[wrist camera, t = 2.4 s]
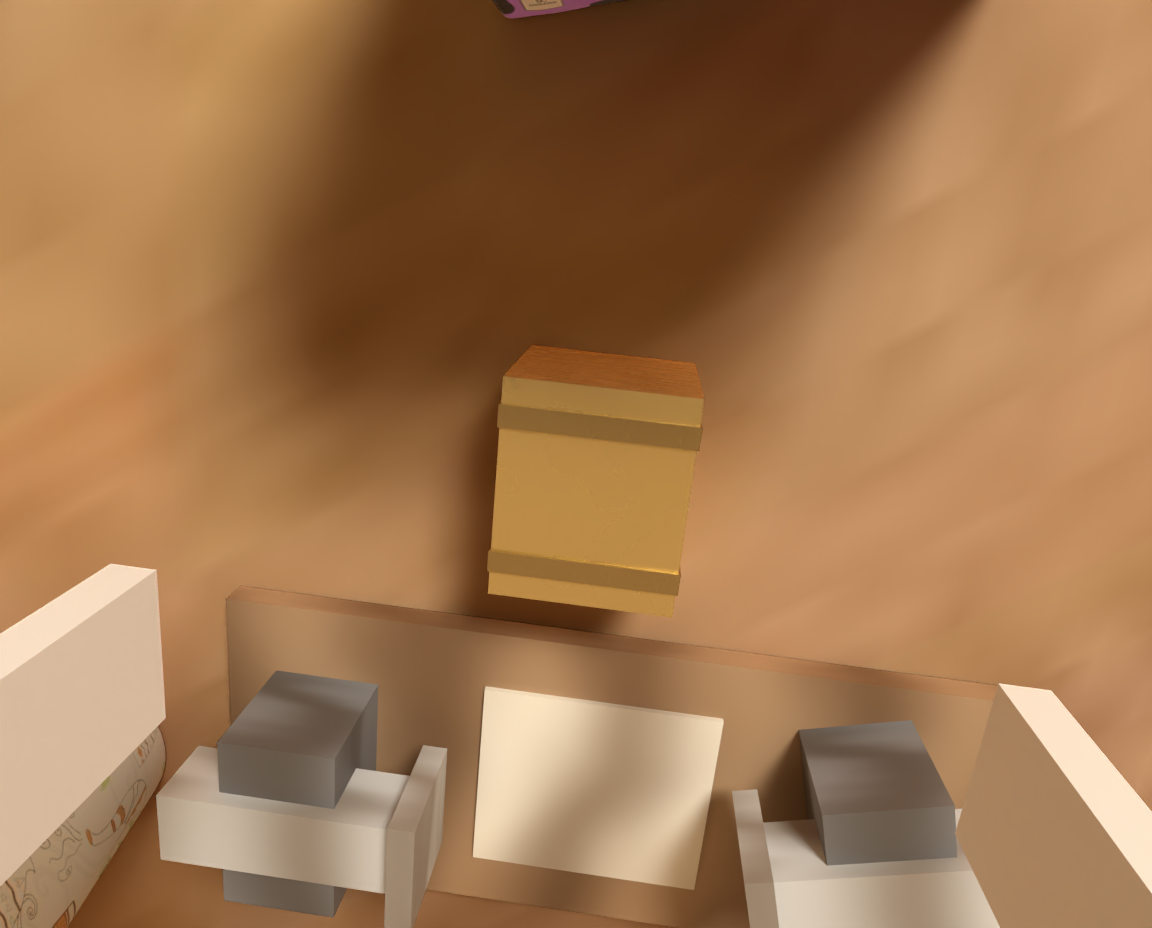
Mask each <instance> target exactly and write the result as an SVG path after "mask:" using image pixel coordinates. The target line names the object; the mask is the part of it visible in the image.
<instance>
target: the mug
mask: <svg viewBox="0 0 1152 928" xmlns="http://www.w3.org/2000/svg"><path fill="white" fill-rule="evenodd" d="M165 761H166V752H165V745H164V740H163V737H162V734H161V731H160V729H159V727H158V726H157V727H156V728H155V729H154V730H153V731H152V732H151V733H150V734H149V735H148V737H147V738H146V739H145V740H144V741H143V742H142V743H141V744H140V745H139V746H138V747H137V748H136V749H135V750H134V751H133V752H132V753H131V754H130V755H129V756H128V757H127V758H126V759H125V760H124V761H123V762H122V763H121V764H120V765H119V766H118V767H117V768H116V769H115V770H114V771H113V772H112V773H111V774H110V775H109V776H108V777H107V778H106V779H105V780H104V781H103V782H102V783H101V784H100V785H99V786H98V787H97V788H96V789H95V790H94V791H93V792H92V794H91V795H90V796H89V797H88V798H87V799H86V800H85V801H84V802H83V803H82V804H81V805H80V806H79V807H78V808H77V809H76V810H75V811H74V812H73V813H72V814H71V815H70V816H69V817H68V818H67V819H66V820H65V821H64V822H63V823H62V824H61V825H60V826H59V827H58V828H57V829H56V830H55V831H54V832H53V833H52V834H51V835H50V836H49V837H48V838H47V839H46V840H45V841H44V842H43V843H42V844H41V845H40V846H39V847H38V848H37V849H36V850H35V852H34V853H33V854H32V855H31V856H30V857H29V858H28V859H27V860H26V861H25V862H24V863H23V864H22V865H21V866H20V867H19V868H18V869H17V870H16V871H15V872H14V873H13V874H12V875H11V876H10V877H9V878H8V879H7V880H6V881H5V882H4V883H3V884H2V885H1V886H0V928H68V926H69V924H70V923H71V921H72V919H73V918H74V916H75V915H76V913H77V912H78V910H79V908H80V907H81V905H82V904H83V902H84V901H85V899H86V898H87V896H88V894H89V893H90V891H91V890H92V888H93V887H94V885H95V883H96V882H97V880H98V879H99V877H100V876H101V874H102V873H103V871H104V869H105V868H106V866H107V865H108V863H109V862H110V860H111V858H112V857H113V855H114V854H115V852H116V851H117V849H118V848H119V846H120V844H121V843H122V841H123V840H124V838H125V837H126V835H127V833H128V832H129V830H130V829H131V827H132V826H133V824H134V823H135V821H136V819H137V818H138V816H139V815H140V813H141V812H142V810H143V808H144V807H145V805H146V804H147V802H148V801H149V799H150V797H151V796H152V794H153V793H154V791H155V789H156V788H157V786H158V784H159V782H160V780H161V778H162V775H163V772H164V768H165Z"/></svg>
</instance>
